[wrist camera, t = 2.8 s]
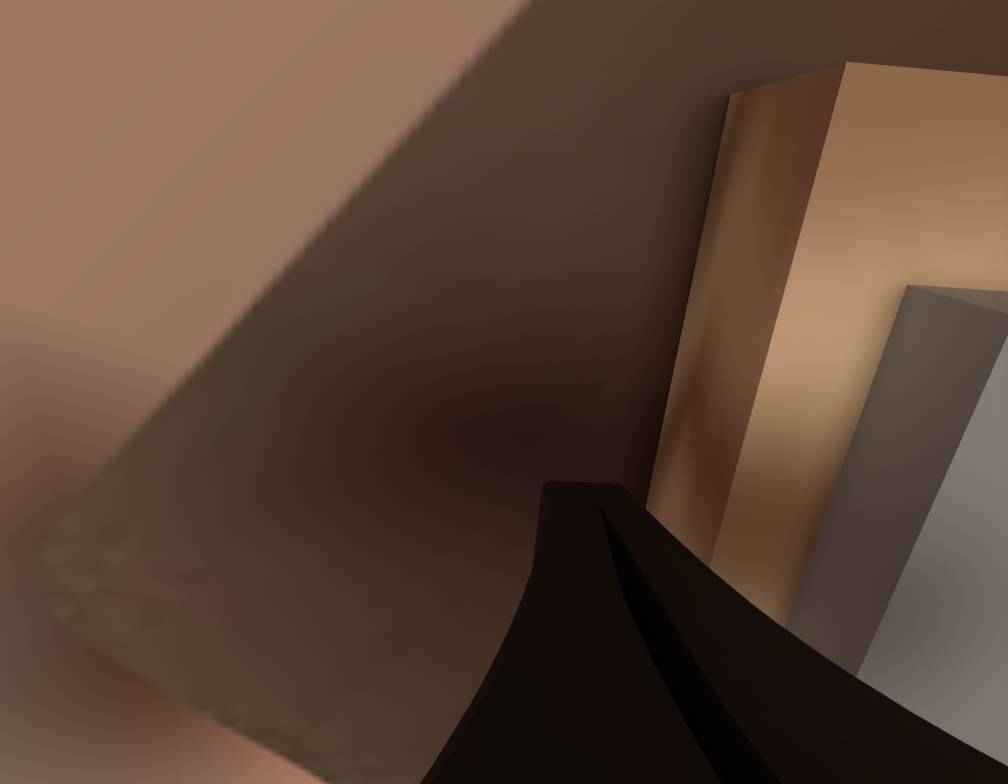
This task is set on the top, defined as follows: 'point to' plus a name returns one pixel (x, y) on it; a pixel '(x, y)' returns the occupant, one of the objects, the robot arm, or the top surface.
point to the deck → (816, 296)
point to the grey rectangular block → (924, 523)
